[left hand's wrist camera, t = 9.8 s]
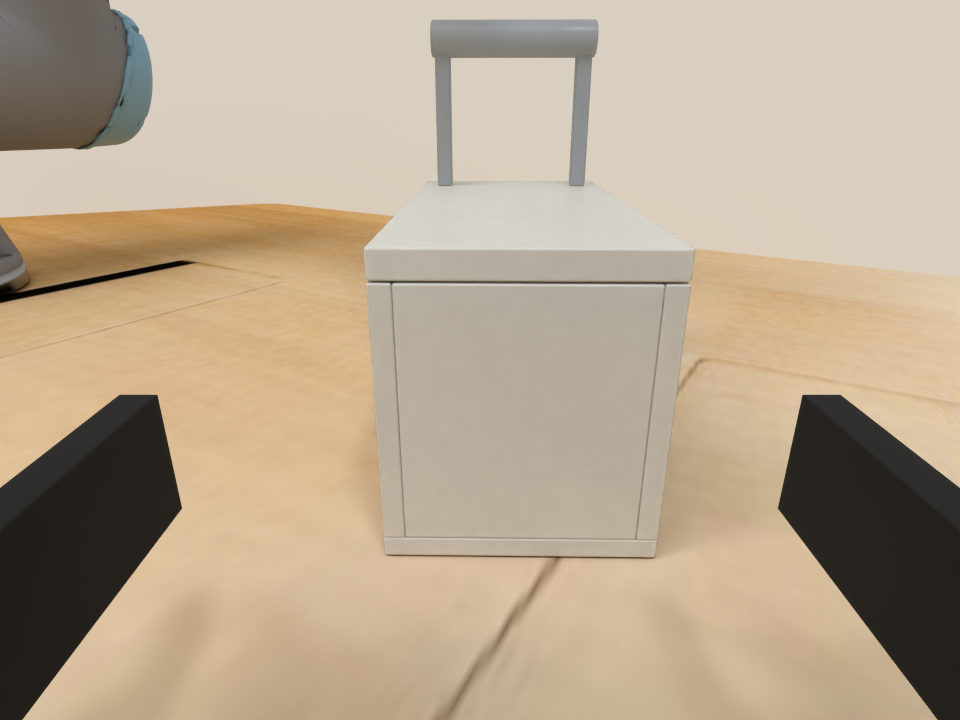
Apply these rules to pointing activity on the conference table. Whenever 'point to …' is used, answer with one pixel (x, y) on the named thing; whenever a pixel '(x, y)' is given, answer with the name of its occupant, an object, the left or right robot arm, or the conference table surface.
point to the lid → (521, 191)
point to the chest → (524, 414)
